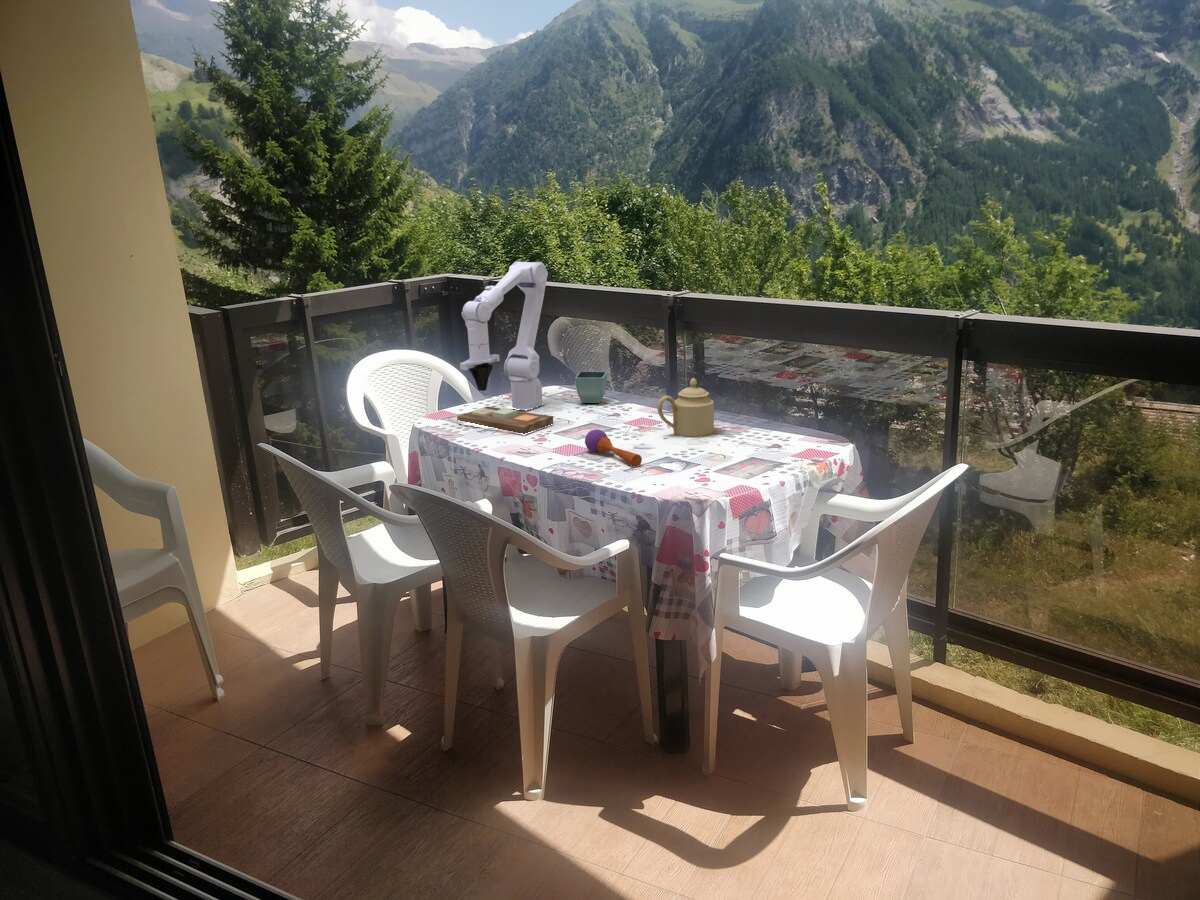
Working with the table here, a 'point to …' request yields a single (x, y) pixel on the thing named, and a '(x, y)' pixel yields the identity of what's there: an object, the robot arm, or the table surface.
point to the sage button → (504, 413)
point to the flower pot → (591, 386)
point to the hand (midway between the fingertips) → (482, 390)
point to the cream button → (483, 412)
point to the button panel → (508, 421)
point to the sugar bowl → (690, 412)
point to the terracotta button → (526, 418)
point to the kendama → (609, 447)
